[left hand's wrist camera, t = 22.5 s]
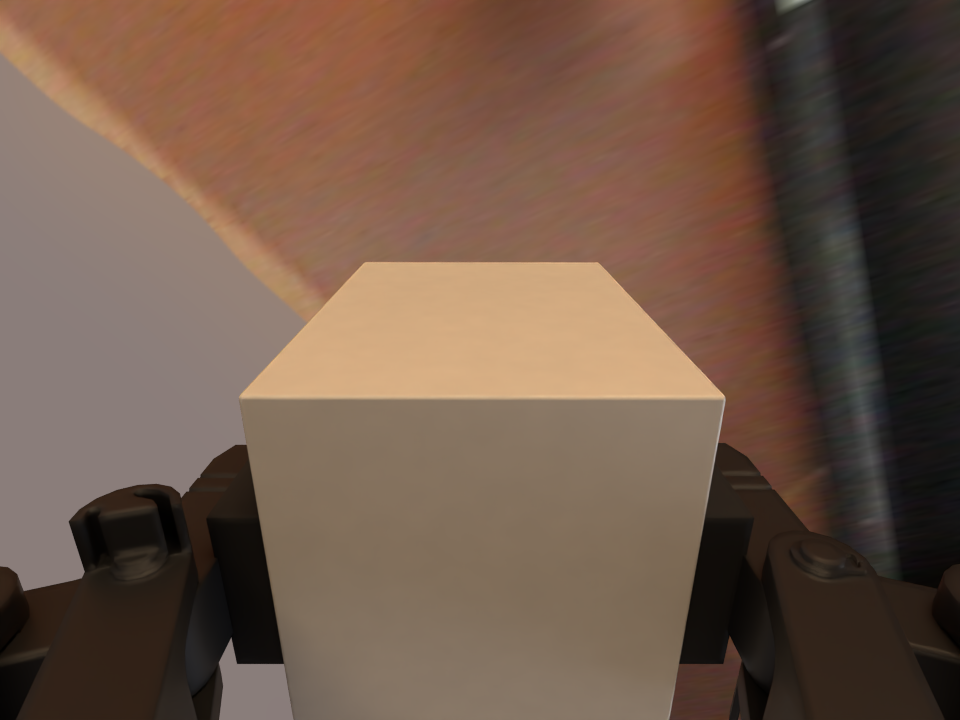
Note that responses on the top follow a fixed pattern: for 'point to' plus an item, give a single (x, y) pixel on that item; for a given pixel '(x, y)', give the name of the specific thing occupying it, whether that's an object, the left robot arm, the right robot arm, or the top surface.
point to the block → (481, 496)
